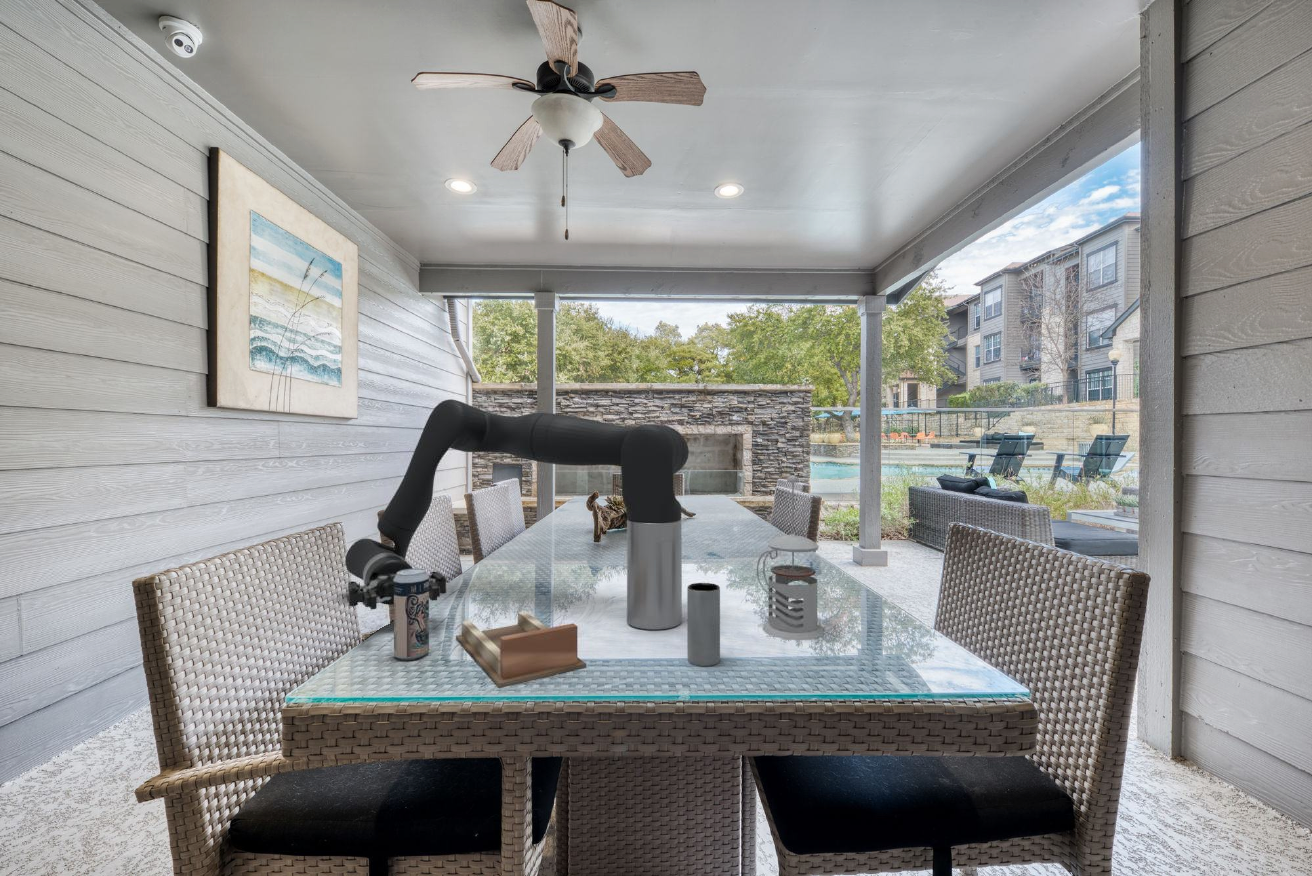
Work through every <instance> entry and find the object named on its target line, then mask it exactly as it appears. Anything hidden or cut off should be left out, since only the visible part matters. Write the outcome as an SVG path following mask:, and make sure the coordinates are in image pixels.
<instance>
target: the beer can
mask: <svg viewBox="0 0 1312 876" xmlns="http://www.w3.org/2000/svg"><path fill="white" fill-rule="evenodd" d="M429 575H430V574H428V572H427V570H426V569H425V568H413V569H406V570H401V571H398V572H397V574H396V576H395V578H394V579H393V581H394V604H393V656H394V657H395V658H397V659H399V660H401V661H402V660H403V661H412V660H417V659H420V658H422V657H424V656H425V655H427V654H428V653H429V652H430V598H429Z"/></svg>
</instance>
